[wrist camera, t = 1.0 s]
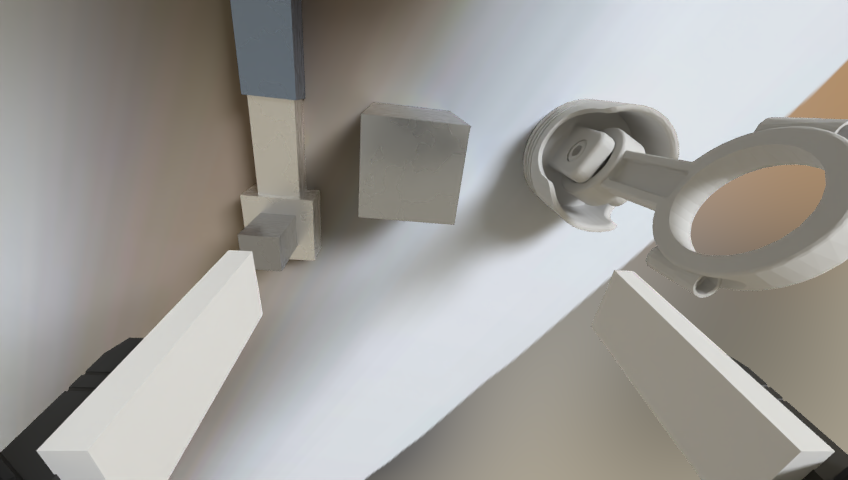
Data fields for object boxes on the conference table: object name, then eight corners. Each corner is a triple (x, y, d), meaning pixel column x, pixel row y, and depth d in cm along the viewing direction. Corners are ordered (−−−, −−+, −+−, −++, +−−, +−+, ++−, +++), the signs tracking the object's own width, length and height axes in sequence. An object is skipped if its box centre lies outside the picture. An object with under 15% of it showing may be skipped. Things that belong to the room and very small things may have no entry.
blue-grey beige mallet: (225, -66, 23) (152, -124, 16) (313, -52, 24) (278, -102, 17) (260, 242, 33) (225, 283, 27) (321, 246, 34) (301, 287, 27)
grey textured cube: (373, 102, 28) (361, 113, 19) (449, 111, 29) (470, 125, 20) (370, 177, 31) (358, 217, 22) (439, 184, 32) (454, 224, 23)
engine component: (502, 174, 32) (577, 222, 35) (637, 307, 13) (776, 386, 16) (578, 65, 28) (657, 128, 31) (914, 43, 10) (1034, 204, 12)
